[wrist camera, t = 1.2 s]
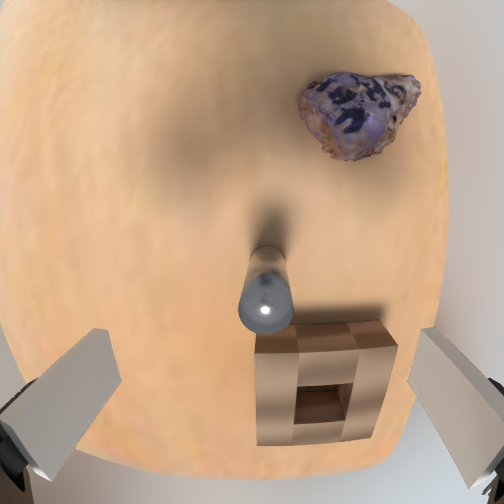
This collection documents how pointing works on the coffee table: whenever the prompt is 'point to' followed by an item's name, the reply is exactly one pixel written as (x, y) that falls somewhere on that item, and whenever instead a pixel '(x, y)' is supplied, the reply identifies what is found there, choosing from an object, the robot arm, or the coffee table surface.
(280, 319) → the pin
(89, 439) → the coffee table surface
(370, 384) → the socket block
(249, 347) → the coffee table surface
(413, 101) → the purple lumpy piece
